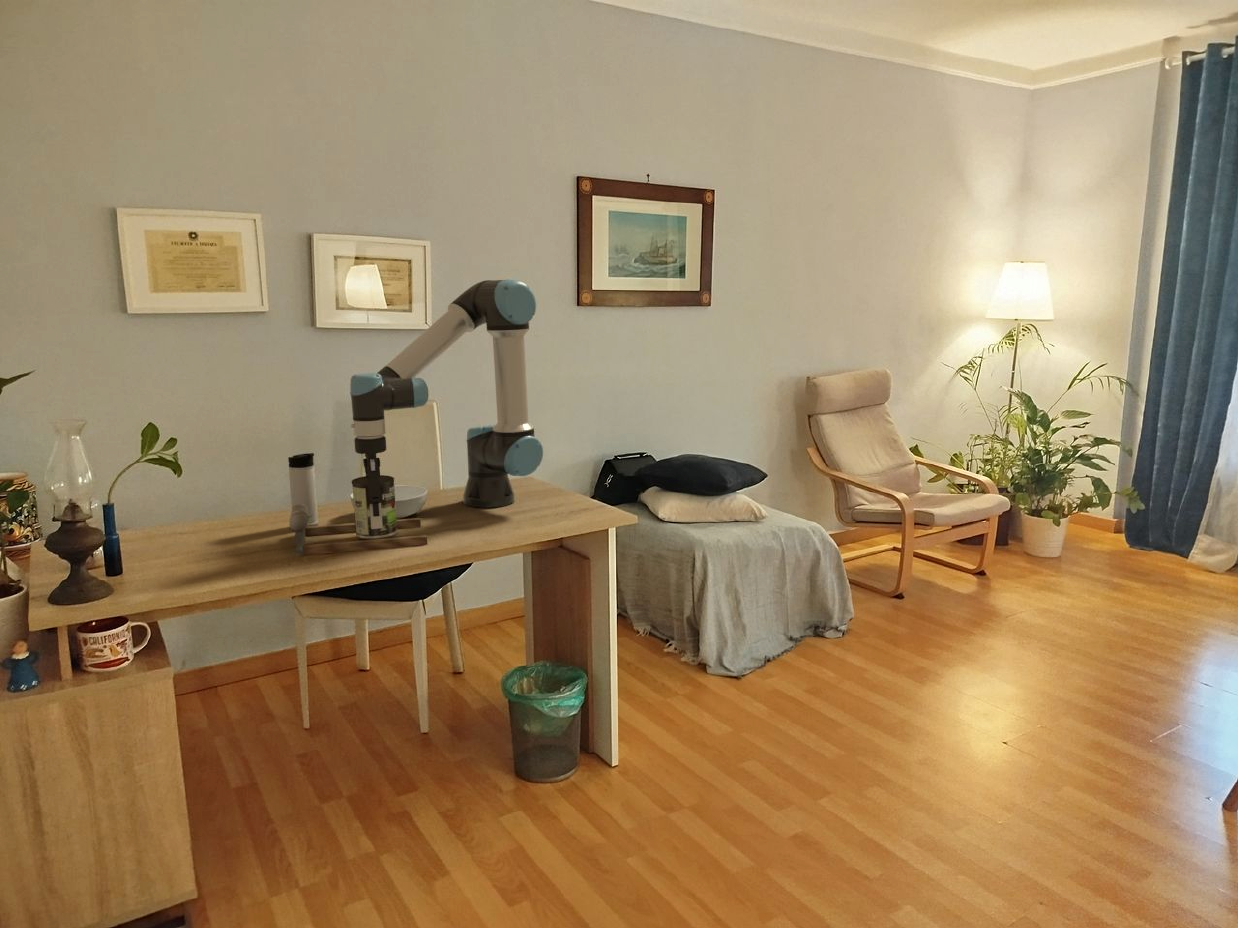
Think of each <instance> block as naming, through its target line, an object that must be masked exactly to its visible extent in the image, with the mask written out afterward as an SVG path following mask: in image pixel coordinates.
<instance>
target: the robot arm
mask: <svg viewBox="0 0 1238 928" xmlns="http://www.w3.org/2000/svg"><path fill="white" fill-rule="evenodd" d="M536 311H537V300H536V296H535V294H534V292H533V290H532V289H531V288H530V287H529V286H528V285H527V284H526V283H525V282H522V281H520V280H515V279H498V280H492V279H491V280H490V279H488V280H482V281H479V282H477V283H475V284H473V285H472V286H470V287H469V288H467V289H466V290H465V291H464V292H462V293H461V294H460V295H459V296H457V298H455V299H454V300H453V301H452V302H451V303H449V305H448V306H447V311H446V312H445V313H444V314H442V316H440V317H439V318H438V319H437V320H436V321H435V322H433V323H432V324H431V325H430V326H429V327H428V328H427V329H426V330H425V331H423V332H422V333H421V334H420V335H418V337H417V338H415V340H413V341H412V342H411V343H410V344H409V345H408V346H406V347H405V348H404V349H403V350H402V351H401V352H399V354H397V355H396V356H395V357H394V358H393V359H391V361H390V362H388V363H387V364H386V365H384V366H383V367H382V368H381V369H380V370H379V371H378V372H377V373H375V372H370V373H369V372H368V373H367V372H364V373H362V372H361V373H355V374H353V375H352V376H351V378H350V384H349V385H350V387H349V388H350V389H349V391H350V392H349V394H350V398H351V399H350V401H351V410H352V422H353V423H351V424H350V428H352V429H353V434H354V436H355V437H354V439H353V440H354V441H353V442H354V452H355V453H356V454H359V455H364V457H365V458H363V459H362V461H363V468H364V472H365V476H366V477H367V478H368V482H369V494H370V500H369V501H367V504H370V517H371V529H379V528H383V524H382V509H381V497H380V485H379V477H380V475H381V468H380V467H381V460H380V457H377V454H382V453H384V452H386V451H387V442H386V441H387V439H386V438H387V437H386V436H385V435H386V434H387V433H386V419H385V411H392V410H404V409H412V408H413V409H415V408H419V407H420V408H421V407H424V406H426V404H427V402H428V400H429V388H428V385H427V383H426V381H425V380H424V379H423V378H420V377H418V376H419V375H420V374H421V373H423V371H424V370H425V369H427V368H428V367H429V366H430V365H431V364H432V363H434V362H435V361H436V360H437V359H438V358H439V357H440V356H441V355H442V354H443V353H444V352H446V351H447V350H448V349H449V348H450V347H451V346H452V345H453V344H454V343H456V342H457V341H458V340H459V339H461V337H462V336H464V334H466V333H472V332H474V330H475V329H477V328H478V327H481V326H482V325H486V332H487V333H488V334H490V336H491V337H492V347H493V348H492V349H493V362H494V364H493V365H494V377H495V378H494V380H495V381H494V383H495V397H496V414H497V415H496V416H497V417H496V418H497V423H496V424H492V425H491V424H489V425H480V426H473V427H470V428H468V429H467V433H466V445H467V446H466V448H467V449H466V450H467V469H468V471H467V472H468V478H467V482H466V485H465V487H464V492H463V494H462V495H463V496H462V497H463V498H462V500H463V504H464V505H465V506H468V507H473V508H498V507H505V506H509V505H511V503H512V504H513V503H514V502H515V492H514V490H513V487H512V484H511V481H510V478H509V475H510V476H513V477H517V476H518V477H527V476H529V475H532V474H533V473H534V472H535V471H536V470H537V469H538V467H539V466H540V465H541V463H542V461H543V459H544V458H543V456H544V447H543V445H542V443H541V441H539V439H538V438H536V437H535V427H534V425H533V424H532V423H531V422H530V421H529V409H528V408H529V407H528V390H527V389H528V388H527V387H528V386H527V372H526V371H527V370H526V369H527V367H526V350H525V349H526V347H525V335H526V334H527V333H528V331H529V330H530V321H532V319H533V316H534V315H536ZM373 497H377V498H373Z"/></svg>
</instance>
